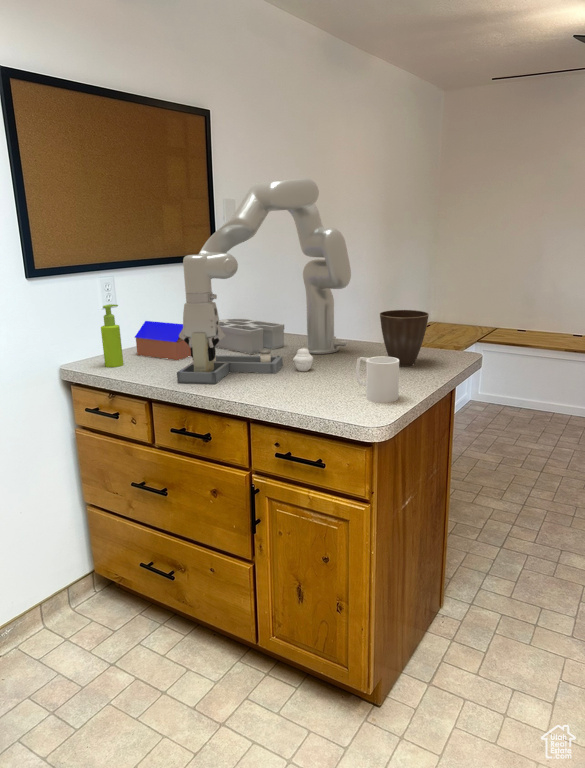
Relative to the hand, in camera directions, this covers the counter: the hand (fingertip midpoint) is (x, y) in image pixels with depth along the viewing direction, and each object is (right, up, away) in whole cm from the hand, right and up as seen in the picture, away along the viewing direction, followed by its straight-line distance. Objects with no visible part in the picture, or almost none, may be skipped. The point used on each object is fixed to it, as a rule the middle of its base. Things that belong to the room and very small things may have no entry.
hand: (203, 359), depth 175 cm
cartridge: (+18, -3, +9) cm, 21 cm away
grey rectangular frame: (+9, -2, +11) cm, 15 cm away
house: (-18, +3, +34) cm, 39 cm away
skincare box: (0, -4, +1) cm, 4 cm away
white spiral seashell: (+30, -3, +7) cm, 31 cm away
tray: (0, -5, +1) cm, 6 cm away
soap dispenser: (-33, -1, +21) cm, 39 cm away
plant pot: (+62, -1, +11) cm, 63 cm away
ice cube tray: (+8, +6, +45) cm, 46 cm away
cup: (+48, -11, -22) cm, 54 cm away
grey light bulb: (+1, -2, +13) cm, 13 cm away
